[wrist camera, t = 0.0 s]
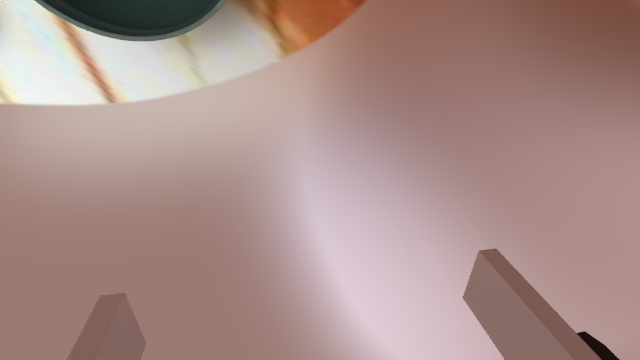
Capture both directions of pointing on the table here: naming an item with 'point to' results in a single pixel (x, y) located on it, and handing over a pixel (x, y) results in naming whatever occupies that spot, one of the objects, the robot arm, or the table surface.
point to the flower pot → (135, 16)
